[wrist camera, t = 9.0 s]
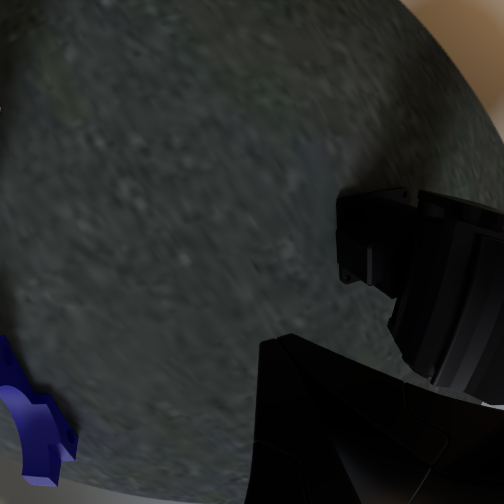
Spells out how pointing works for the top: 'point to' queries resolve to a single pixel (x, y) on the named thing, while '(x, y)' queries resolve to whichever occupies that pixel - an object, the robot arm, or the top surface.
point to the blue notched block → (35, 423)
